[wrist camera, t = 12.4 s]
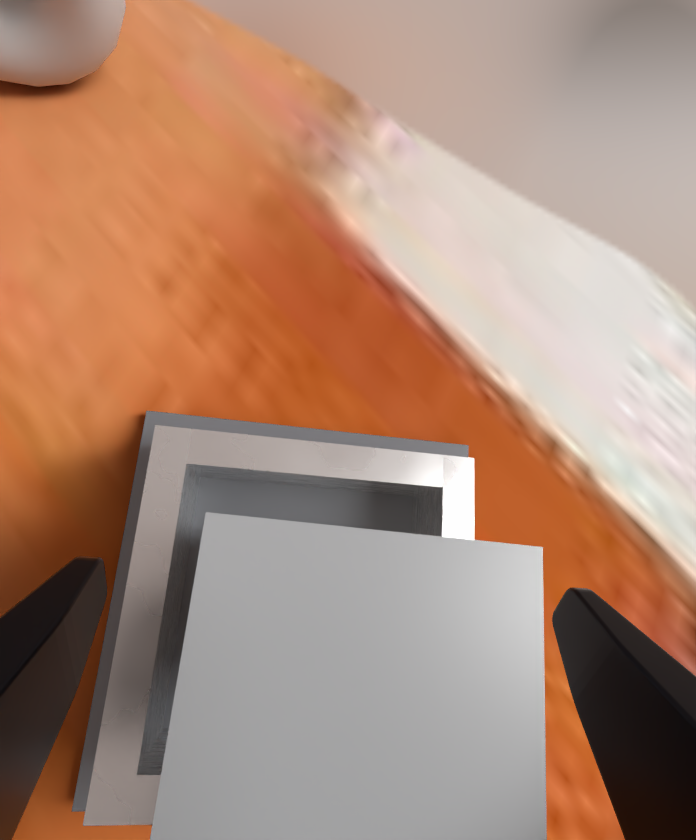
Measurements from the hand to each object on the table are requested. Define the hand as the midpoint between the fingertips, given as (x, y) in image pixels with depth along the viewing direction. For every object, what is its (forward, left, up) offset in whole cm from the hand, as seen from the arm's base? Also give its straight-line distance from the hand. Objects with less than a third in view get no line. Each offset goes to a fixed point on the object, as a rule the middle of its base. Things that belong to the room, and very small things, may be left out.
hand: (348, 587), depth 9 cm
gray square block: (-1, -1, -10) cm, 11 cm away
